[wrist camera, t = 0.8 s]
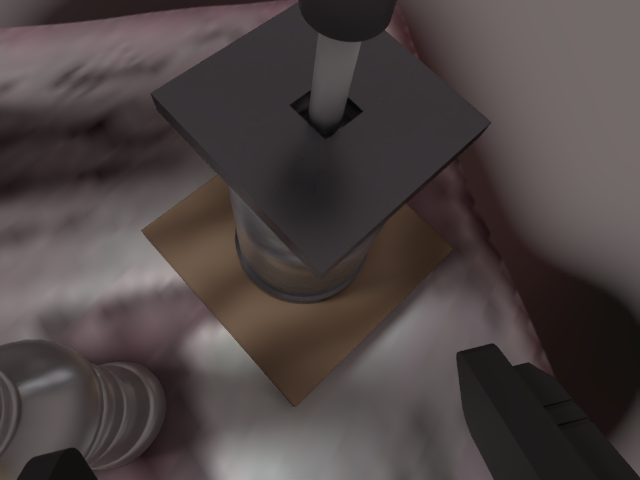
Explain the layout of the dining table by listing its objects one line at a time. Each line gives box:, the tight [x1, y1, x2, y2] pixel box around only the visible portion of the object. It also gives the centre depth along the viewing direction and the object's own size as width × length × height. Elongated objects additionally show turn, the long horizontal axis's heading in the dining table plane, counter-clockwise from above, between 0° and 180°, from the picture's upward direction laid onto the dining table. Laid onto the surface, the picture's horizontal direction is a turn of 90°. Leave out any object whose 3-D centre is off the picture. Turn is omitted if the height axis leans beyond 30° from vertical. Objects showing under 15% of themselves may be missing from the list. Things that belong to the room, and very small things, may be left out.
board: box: [141, 175, 453, 407], centre depth 37 cm, size 18×18×2 cm
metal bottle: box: [0, 339, 166, 480], centre depth 23 cm, size 6×7×20 cm
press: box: [151, 2, 491, 304], centre depth 28 cm, size 13×11×17 cm
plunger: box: [299, 0, 397, 135], centre depth 16 cm, size 5×5×11 cm
